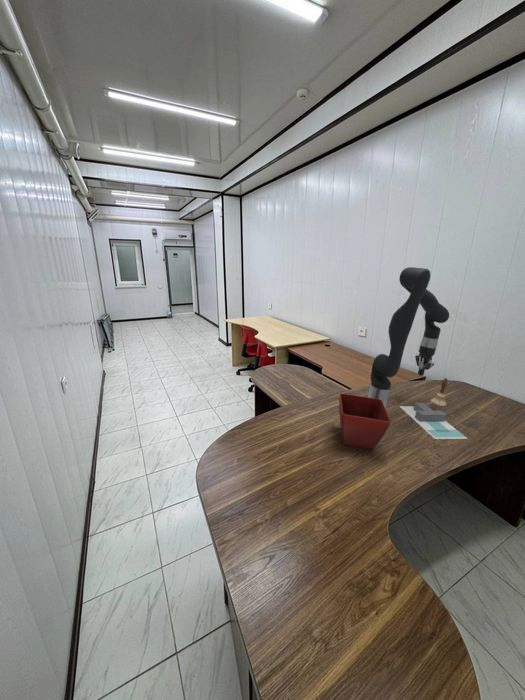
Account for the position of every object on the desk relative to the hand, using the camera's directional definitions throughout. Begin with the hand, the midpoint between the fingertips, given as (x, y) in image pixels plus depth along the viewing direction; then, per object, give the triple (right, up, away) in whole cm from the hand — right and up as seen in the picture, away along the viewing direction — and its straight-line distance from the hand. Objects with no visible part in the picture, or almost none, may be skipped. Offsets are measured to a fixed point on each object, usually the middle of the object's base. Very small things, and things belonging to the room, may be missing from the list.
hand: (420, 375), depth 152 cm
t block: (0, -21, -4) cm, 22 cm away
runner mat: (0, -23, -9) cm, 25 cm away
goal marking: (+1, -25, -15) cm, 30 cm away
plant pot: (-45, -27, -27) cm, 59 cm away
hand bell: (+17, -18, +11) cm, 27 cm away
